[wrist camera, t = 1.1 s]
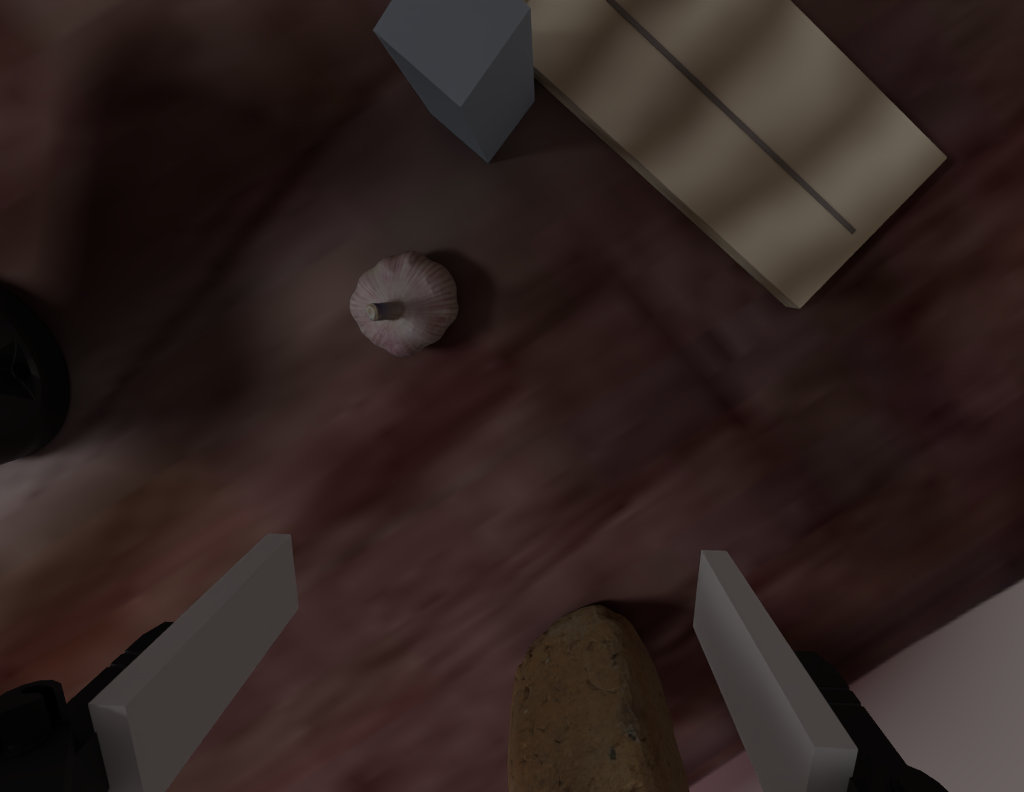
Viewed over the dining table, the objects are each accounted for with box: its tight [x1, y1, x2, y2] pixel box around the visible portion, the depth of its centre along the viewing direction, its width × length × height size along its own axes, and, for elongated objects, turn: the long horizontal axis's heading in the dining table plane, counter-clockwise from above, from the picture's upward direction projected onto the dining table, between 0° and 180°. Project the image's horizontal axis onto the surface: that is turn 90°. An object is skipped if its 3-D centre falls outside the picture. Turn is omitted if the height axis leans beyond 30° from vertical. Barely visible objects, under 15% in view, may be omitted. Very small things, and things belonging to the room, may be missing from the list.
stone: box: [508, 605, 689, 792], centre depth 33 cm, size 11×8×20 cm
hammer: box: [373, 0, 535, 163], centre depth 27 cm, size 5×13×12 cm, turn 140°
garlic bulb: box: [350, 251, 459, 357], centre depth 33 cm, size 8×7×8 cm
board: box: [527, 0, 947, 309], centre depth 31 cm, size 30×12×2 cm, turn 51°
